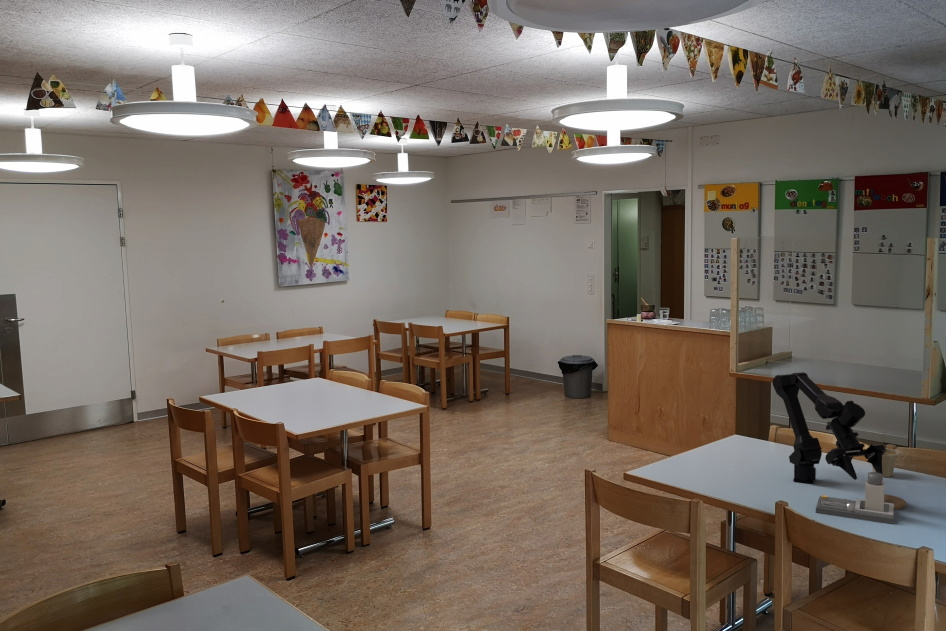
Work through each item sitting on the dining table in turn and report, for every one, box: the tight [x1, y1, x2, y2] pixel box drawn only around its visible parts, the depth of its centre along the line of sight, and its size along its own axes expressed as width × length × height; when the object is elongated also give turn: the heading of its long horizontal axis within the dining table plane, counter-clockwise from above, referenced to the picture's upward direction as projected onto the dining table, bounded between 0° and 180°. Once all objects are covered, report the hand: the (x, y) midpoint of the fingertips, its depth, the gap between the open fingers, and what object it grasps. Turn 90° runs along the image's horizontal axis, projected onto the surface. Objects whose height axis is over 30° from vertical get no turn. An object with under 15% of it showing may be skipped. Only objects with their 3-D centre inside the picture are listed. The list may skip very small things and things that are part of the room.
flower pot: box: [871, 447, 899, 478], centre depth 267 cm, size 9×9×9 cm
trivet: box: [884, 493, 907, 511], centre depth 240 cm, size 11×11×1 cm
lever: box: [817, 499, 853, 512], centre depth 232 cm, size 10×2×4 cm, turn 59°
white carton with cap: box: [864, 471, 886, 512], centre depth 230 cm, size 5×5×13 cm
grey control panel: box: [815, 494, 895, 525], centre depth 234 cm, size 21×12×3 cm, turn 59°
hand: (868, 477), depth 233 cm, fingers open, 9 cm apart
